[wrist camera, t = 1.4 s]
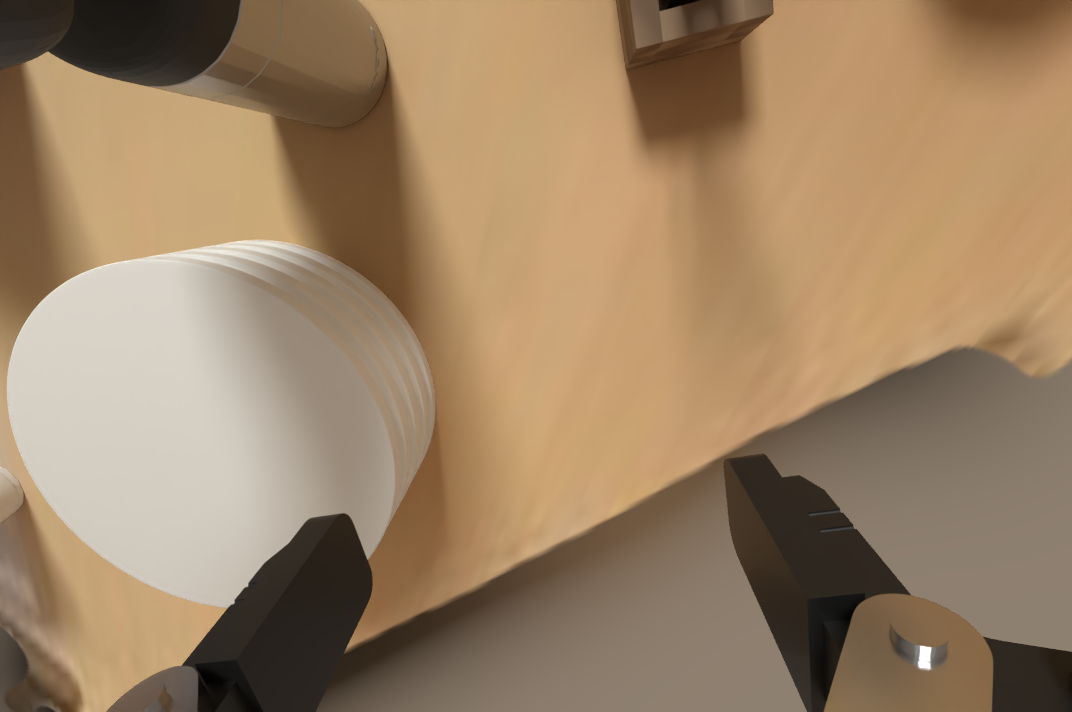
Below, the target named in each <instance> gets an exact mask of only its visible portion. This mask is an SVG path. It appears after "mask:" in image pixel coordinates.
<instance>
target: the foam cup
mask: <svg viewBox="0 0 1072 712" xmlns="http://www.w3.org/2000/svg"><path fill="white" fill-rule="evenodd" d="M23 497H24V492H23V490H22V488H21V486H20V484H19V482H18V480H17V479H16V478H15V477H14V476H13V475H12V474H11V473H10V472H9V471H8V470H6V469H4V468H2V467H1V466H0V523H1V522H3V521H4V520H5V519H7V518H8V517H9V516H11V515H12V514H13V513H14V512H15V511H17V510H18V509H19V508H20V506H21V505H22V504H23Z"/></svg>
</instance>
